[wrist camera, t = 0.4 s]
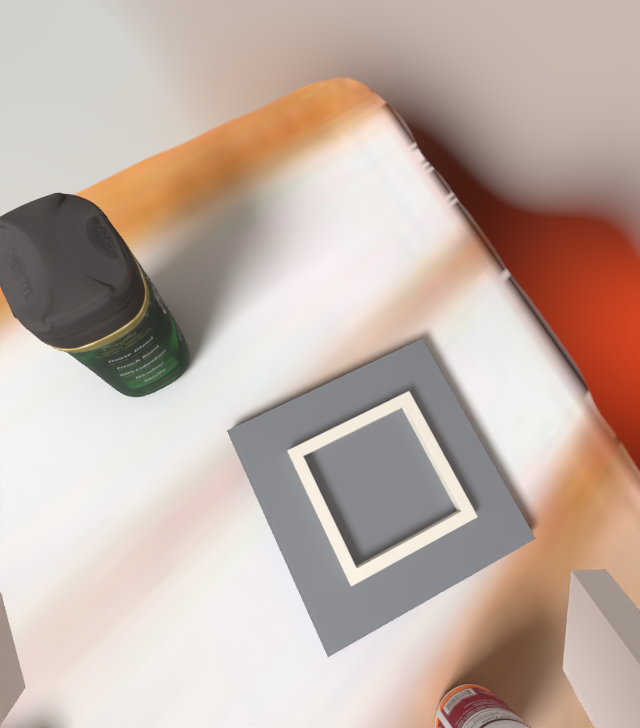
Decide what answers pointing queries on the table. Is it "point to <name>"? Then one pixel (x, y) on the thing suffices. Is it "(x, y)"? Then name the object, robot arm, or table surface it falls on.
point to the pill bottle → (475, 710)
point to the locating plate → (377, 493)
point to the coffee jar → (88, 294)
